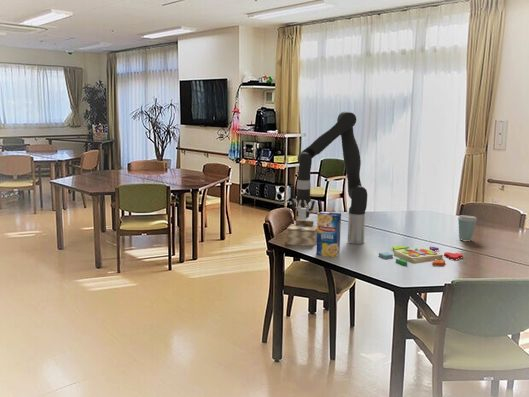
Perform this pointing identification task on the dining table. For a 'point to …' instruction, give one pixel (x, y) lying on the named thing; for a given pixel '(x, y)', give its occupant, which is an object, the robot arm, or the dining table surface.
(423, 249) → the pattern blocks set
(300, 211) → the steel block
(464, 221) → the disposable coffee cup
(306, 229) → the lid
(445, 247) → the dining table surface
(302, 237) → the box
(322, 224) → the blue food carton
